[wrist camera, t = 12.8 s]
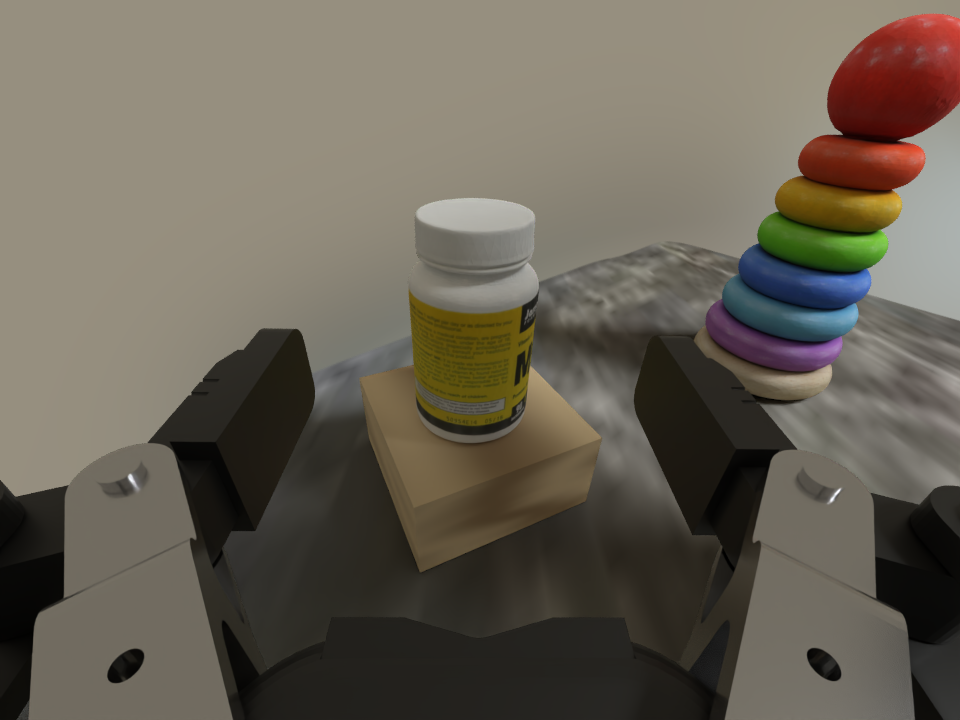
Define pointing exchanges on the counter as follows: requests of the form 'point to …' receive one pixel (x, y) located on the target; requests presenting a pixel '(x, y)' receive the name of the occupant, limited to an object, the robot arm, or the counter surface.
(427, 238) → the supplement bottle
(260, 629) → the counter surface
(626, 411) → the counter surface
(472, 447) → the oak block
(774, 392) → the stacking toy
